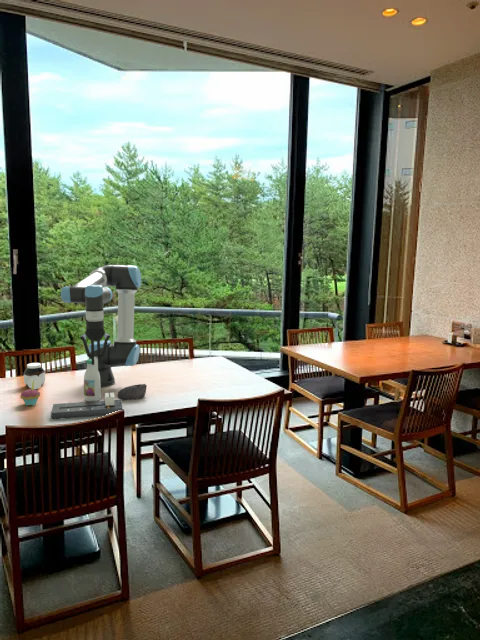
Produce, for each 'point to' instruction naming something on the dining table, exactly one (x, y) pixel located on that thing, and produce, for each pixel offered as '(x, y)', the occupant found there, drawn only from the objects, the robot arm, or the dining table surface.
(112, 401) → the fader knob
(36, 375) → the spread jar
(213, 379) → the dining table surface
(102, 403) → the fader console
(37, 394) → the cupcake
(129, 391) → the perforated stone tool
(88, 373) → the milk bottle
